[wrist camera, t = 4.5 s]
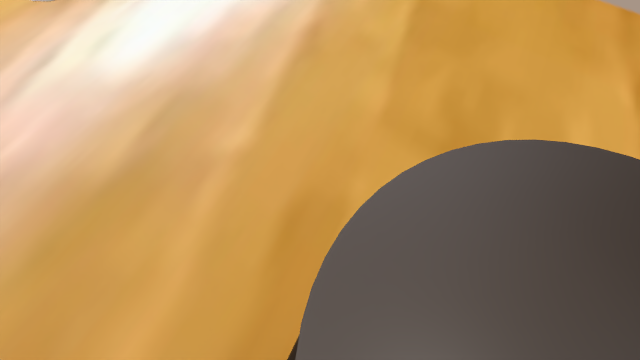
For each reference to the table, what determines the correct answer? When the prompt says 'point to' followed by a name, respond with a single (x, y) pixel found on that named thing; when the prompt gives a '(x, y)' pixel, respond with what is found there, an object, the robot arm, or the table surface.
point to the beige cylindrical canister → (487, 261)
